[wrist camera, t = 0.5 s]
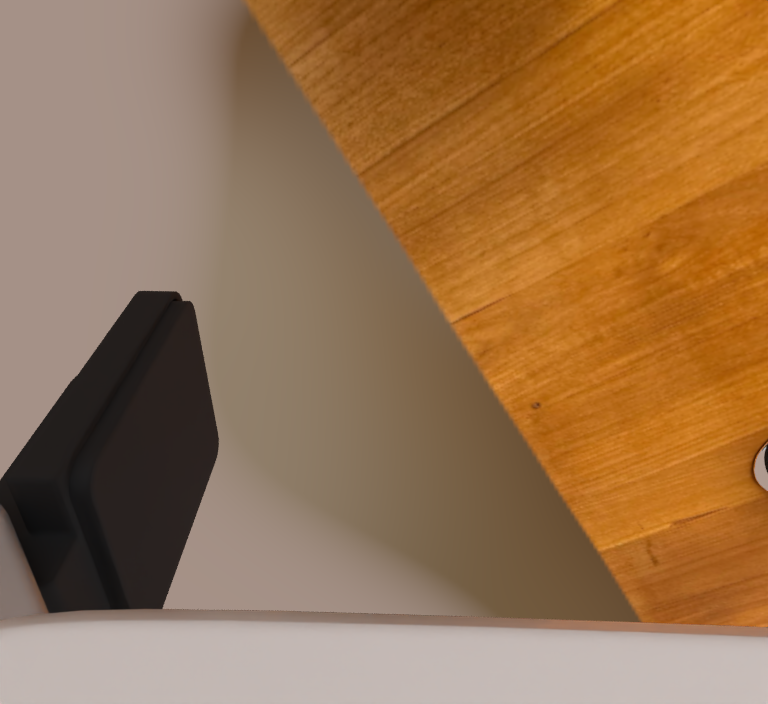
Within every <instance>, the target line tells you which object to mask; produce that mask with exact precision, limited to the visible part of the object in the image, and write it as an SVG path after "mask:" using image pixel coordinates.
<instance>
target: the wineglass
mask: <svg viewBox="0 0 768 704" xmlns="http://www.w3.org/2000/svg"><path fill="white" fill-rule="evenodd" d="M767 444H768V442H766V444H765V445H764V446H763V447H762V448H761V449H760V451H759V452H758V454H757V456H756V458H755V461H754V467H753V471H754V477H755V479H756V481H757V482H758V484H759V485H760V486H761V487H762V488H763V489H765V490H766V491H768V473H767V471H766V468H765V463H764V454H765V449H766V446H767Z"/></svg>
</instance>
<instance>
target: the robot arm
mask: <svg viewBox="0 0 768 704" xmlns="http://www.w3.org/2000/svg"><path fill="white" fill-rule="evenodd" d="M218 441H219V438H218V431H217V426H216V421H215V415H214V410H213V405H212V400H211V395H210V389H209V383H208V378H207V373H206V367H205V362H204V357H203V351H202V346H201V341H200V335H199V331H198V324H197V319H196V314H195V310H194V306H193V304H192V303H191V302H190V301H182V298H181V296H180V294H179V293H177V292H169V291H165V292H164V291H139V292H137V293H136V294H135V296H134V297H133V298H132V300H131V301H130V303H129V304H128V305H127V307H126V308H125V310H124V311H123V312H122V314H121V315H120V317H119V318H118V319H117V321H116V322H115V324H114V325H113V326H112V328H111V329H110V331H109V332H108V333H107V335H106V336H105V338H104V339H103V340H102V342H101V343H100V345H99V346H98V347H97V349H96V350H95V352H94V353H93V355H92V356H91V357H90V359H89V360H88V361H87V363H86V364H85V366H84V367H83V368H82V370H81V371H80V373H79V374H78V376H76V377H75V378H74V379H73V380H72V381H71V382H70V384H69V385H68V387H67V388H66V389H65V391H64V392H63V393H62V395H61V396H60V398H59V399H58V400H57V402H56V403H55V405H54V406H53V407H52V409H51V410H50V412H49V413H48V414H47V416H46V417H45V419H44V420H43V422H42V423H41V424H40V426H39V427H38V428H37V430H36V431H35V432H34V434H33V435H32V437H31V438H30V439H29V441H28V442H27V444H26V445H25V446H24V448H23V449H22V451H21V452H20V453H19V455H18V456H17V458H16V459H15V460H14V462H13V463H12V464H11V466H10V467H9V469H8V470H7V472H6V473H5V474H4V476H3V477H2V478H1V480H0V704H768V627H749V626H723V625H695V624H668V623H640V622H613V621H612V622H611V621H584V620H556V619H527V618H498V617H467V616H466V617H465V616H434V615H433V616H432V615H398V614H368V613H334V612H301V611H257V610H252V611H251V610H188V609H187V610H186V609H185V610H184V609H183V610H182V609H162V608H163V605H164V602H165V600H166V596H167V594H168V591H169V588H170V586H171V583H172V580H173V577H174V575H175V572H176V569H177V566H178V564H179V561H180V558H181V555H182V552H183V550H184V547H185V544H186V541H187V539H188V536H189V533H190V530H191V527H192V525H193V522H194V519H195V517H196V513H197V511H198V508H199V505H200V503H201V500H202V497H203V494H204V492H205V489H206V486H207V483H208V481H209V478H210V475H211V472H212V469H213V467H214V464H215V461H216V458H217V454H218V445H219V443H218ZM764 463H765V468H766V471H767V473H768V444H767V446H766V449H765V454H764Z"/></svg>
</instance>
